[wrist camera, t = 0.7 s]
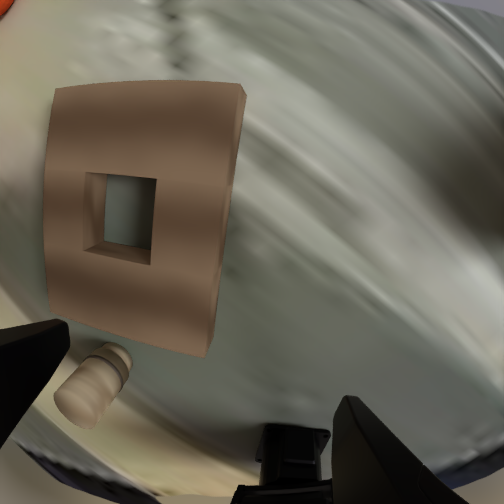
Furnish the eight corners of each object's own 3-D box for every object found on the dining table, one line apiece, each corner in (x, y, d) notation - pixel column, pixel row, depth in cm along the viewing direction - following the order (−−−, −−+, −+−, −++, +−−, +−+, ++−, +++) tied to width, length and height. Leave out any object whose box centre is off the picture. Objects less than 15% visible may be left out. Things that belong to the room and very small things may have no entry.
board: (213, 336, 23) (204, 358, 21) (69, 298, 24) (50, 311, 21) (246, 95, 18) (240, 83, 16) (78, 94, 19) (55, 88, 16)
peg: (137, 379, 26) (100, 436, 18) (101, 367, 26) (59, 417, 18) (134, 346, 25) (91, 402, 17) (96, 333, 25) (48, 382, 17)
